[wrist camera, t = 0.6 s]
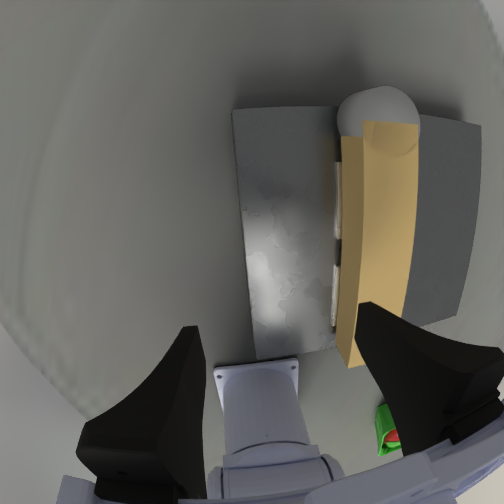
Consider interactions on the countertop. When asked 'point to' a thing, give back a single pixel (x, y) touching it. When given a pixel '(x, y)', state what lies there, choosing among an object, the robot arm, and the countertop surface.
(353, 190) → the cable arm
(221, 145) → the countertop surface
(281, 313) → the plate
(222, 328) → the countertop surface
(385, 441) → the fruit basket
